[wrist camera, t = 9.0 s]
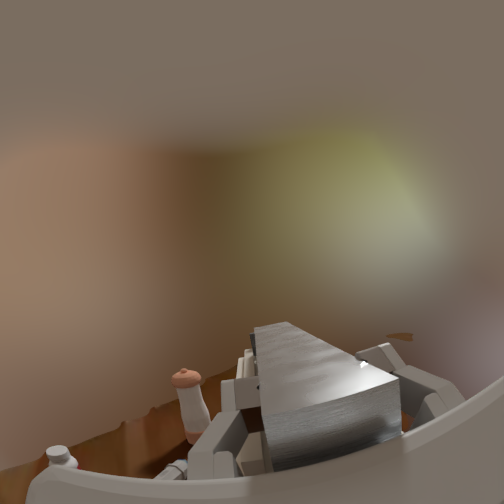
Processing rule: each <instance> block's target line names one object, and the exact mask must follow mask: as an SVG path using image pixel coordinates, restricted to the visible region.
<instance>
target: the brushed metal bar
mask: <svg viewBox="0 0 504 504" xmlns="http://www.w3.org/2000/svg"><path fill="white" fill-rule="evenodd" d="M254 330H255V343H256V355H257V367H258V376H259V379H260V385H259V390H260V401H261V413H262V419H263V424H264V429H265V433H266V438H267V443H268V447H269V452H270V457H271V461H272V466H273V470H274V472H279V471H285V470H290V469H295V468H299V467H304V466H308V465H312V464H316V463H320V462H324V461H328V460H331V459H335V458H338V457H342V456H345V455H348V454H351V453H354V452H357V451H360V450H363V449H366V448H369V447H372V446H374V445H377V444H380V443H382V442H385V441H387V440H390V439H392V438H395V437H397V436H399V435H401V402H400V386H399V378H398V377H395V376H393V375H391V374H389V373H387V372H385V371H383V370H381V369H379V368H376V367H374V366H372V365H370V364H368V363H366V362H364V361H362V360H360V359H358V358H356V357H354V356H352V355H350V354H348V353H346V352H344V351H342V350H340V349H338V348H336V347H334V346H332V345H330V344H328V343H326V342H324V341H322V340H320V339H318V338H316V337H314V336H312V335H311V334H309V333H307V332H305V331H303V330H301V329H299V328H297V327H295V326H293V325H292V324H290V323H288V322H283V323H277V324H272V325H267V326H262V327H256V328H254Z"/></svg>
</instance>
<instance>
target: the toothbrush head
mask: <svg viewBox="0 0 504 504" xmlns="http://www.w3.org/2000/svg"><path fill="white" fill-rule="evenodd" d="M187 468H188V462H187V461H186V460H184V459H178V460H176V461H175V462H174V463H172V464H168V465H167V466H166V467H165V468H164V471H162V472H161V473H160V474H159V475H158V476H156V477H155V478H154V479H158V480H185V479H186V476H187Z"/></svg>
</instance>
